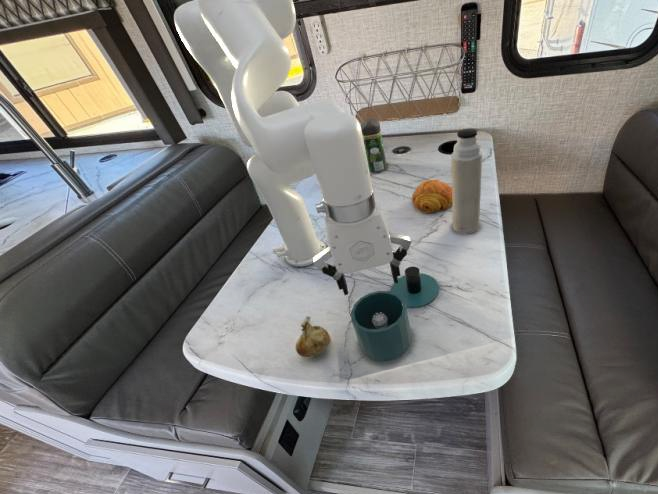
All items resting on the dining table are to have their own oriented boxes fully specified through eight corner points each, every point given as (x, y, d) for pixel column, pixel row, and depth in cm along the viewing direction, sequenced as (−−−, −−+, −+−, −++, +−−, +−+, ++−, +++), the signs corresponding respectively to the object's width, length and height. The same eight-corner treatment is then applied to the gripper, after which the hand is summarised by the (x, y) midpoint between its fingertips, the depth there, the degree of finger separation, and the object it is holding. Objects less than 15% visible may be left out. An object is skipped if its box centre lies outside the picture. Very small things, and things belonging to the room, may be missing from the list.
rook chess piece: (377, 350, 74) (370, 327, 68) (373, 335, 77) (366, 312, 71) (396, 344, 74) (391, 321, 68) (392, 330, 77) (386, 306, 72)
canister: (365, 368, 71) (354, 338, 64) (358, 329, 79) (348, 298, 72) (416, 355, 72) (411, 323, 65) (405, 317, 80) (399, 285, 73)
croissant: (409, 218, 115) (404, 198, 109) (421, 190, 123) (417, 170, 117) (450, 219, 110) (448, 199, 104) (460, 190, 118) (458, 170, 112)
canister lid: (396, 314, 81) (392, 294, 76) (387, 282, 90) (382, 261, 85) (445, 302, 82) (444, 281, 77) (431, 271, 91) (429, 250, 86)
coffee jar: (368, 164, 146) (359, 118, 133) (386, 162, 145) (379, 115, 132) (368, 174, 139) (358, 127, 126) (387, 171, 138) (379, 123, 125)
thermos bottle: (447, 229, 104) (444, 134, 84) (461, 217, 107) (461, 123, 88) (470, 236, 99) (472, 139, 80) (484, 223, 103) (489, 127, 84)
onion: (292, 356, 76) (279, 334, 71) (316, 332, 80) (306, 309, 75) (316, 370, 73) (304, 348, 67) (340, 344, 77) (330, 321, 71)
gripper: (295, 229, 48) (327, 308, 61) (410, 204, 49) (419, 287, 62) (295, 204, 54) (324, 281, 66) (400, 182, 55) (409, 262, 67)
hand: (370, 284), depth 64 cm, fingers open, 9 cm apart
